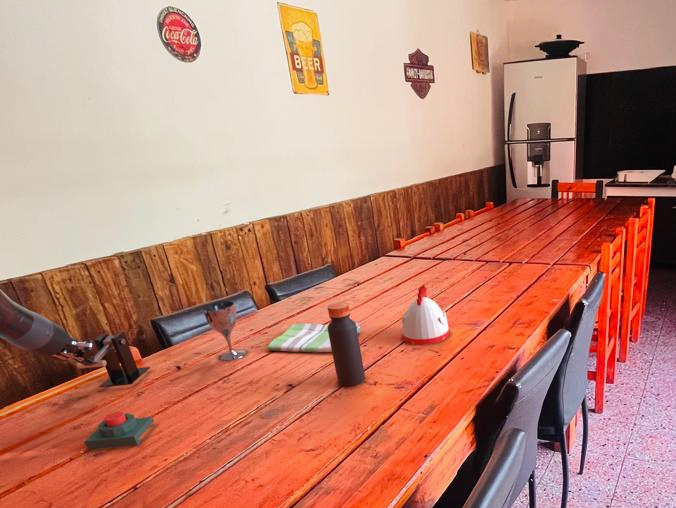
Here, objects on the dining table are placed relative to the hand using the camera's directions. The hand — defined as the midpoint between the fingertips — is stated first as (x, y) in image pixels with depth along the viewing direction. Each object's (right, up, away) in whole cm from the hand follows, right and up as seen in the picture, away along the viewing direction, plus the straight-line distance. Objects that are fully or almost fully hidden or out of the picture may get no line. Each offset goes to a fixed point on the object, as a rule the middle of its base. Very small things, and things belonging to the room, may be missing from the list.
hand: (90, 361), depth 123 cm
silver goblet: (+22, +2, +25) cm, 34 cm away
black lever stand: (-1, -5, +14) cm, 14 cm away
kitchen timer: (+77, +8, +31) cm, 84 cm away
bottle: (+61, -5, +6) cm, 62 cm away
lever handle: (-1, +1, +6) cm, 6 cm away
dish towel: (+44, +6, +31) cm, 55 cm away
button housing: (+16, -16, -12) cm, 26 cm away
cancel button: (+16, -13, -14) cm, 25 cm away
